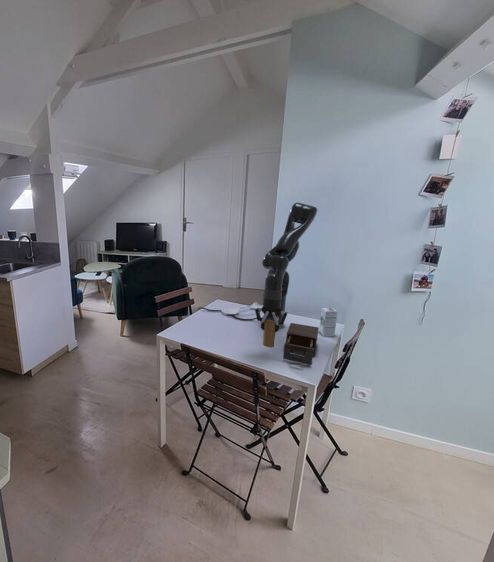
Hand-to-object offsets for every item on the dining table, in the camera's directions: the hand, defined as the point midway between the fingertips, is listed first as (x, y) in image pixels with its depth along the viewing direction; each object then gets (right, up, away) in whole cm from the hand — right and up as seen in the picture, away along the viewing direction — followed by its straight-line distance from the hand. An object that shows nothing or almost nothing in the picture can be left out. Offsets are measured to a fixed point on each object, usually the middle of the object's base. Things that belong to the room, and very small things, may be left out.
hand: (269, 330), depth 149 cm
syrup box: (+42, -6, +22) cm, 48 cm away
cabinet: (+20, -10, +9) cm, 24 cm away
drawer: (+12, -12, -2) cm, 18 cm away
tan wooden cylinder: (0, -7, +2) cm, 8 cm away
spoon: (+11, +3, +61) cm, 62 cm away
